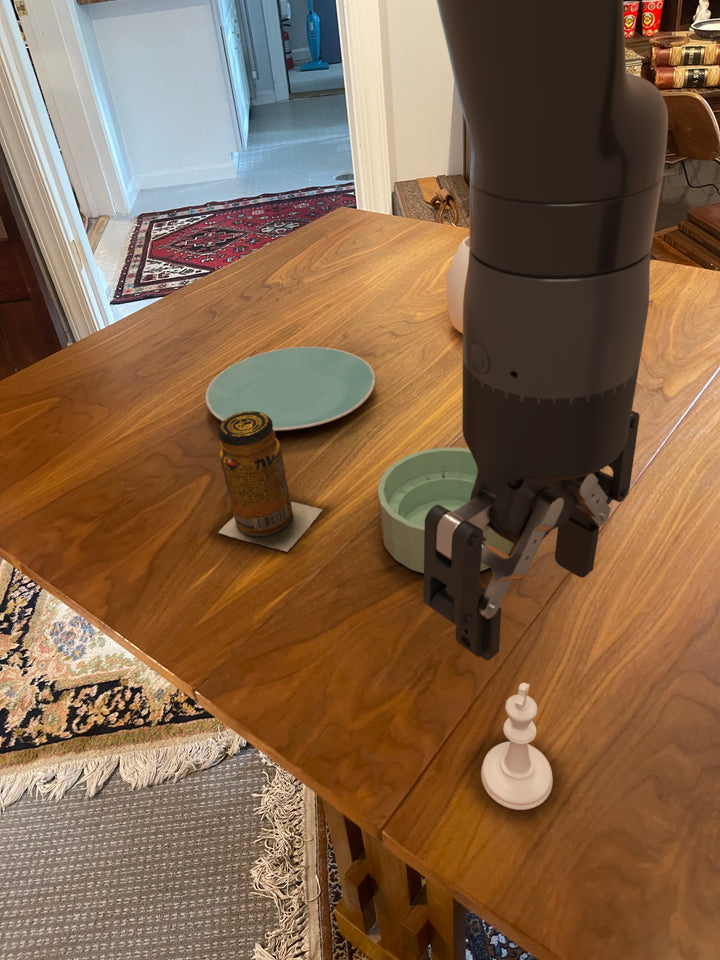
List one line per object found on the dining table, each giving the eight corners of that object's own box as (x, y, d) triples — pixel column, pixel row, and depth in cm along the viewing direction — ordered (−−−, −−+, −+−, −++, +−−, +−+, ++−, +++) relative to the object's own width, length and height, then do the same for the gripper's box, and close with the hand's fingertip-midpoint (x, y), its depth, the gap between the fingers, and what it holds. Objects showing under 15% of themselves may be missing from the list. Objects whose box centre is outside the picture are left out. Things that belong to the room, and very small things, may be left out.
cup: (537, 311, 112) (542, 223, 104) (538, 351, 102) (544, 256, 94) (450, 312, 115) (449, 226, 107) (443, 351, 104) (441, 259, 96)
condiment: (256, 493, 81) (235, 400, 74) (322, 510, 78) (308, 414, 71) (218, 534, 76) (192, 438, 69) (287, 554, 73) (267, 455, 66)
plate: (273, 351, 109) (270, 334, 107) (406, 378, 99) (405, 359, 98) (174, 426, 94) (168, 407, 93) (318, 466, 84) (315, 445, 83)
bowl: (533, 511, 75) (537, 463, 71) (489, 597, 66) (490, 547, 62) (415, 482, 80) (413, 436, 77) (359, 559, 71) (353, 511, 68)
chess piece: (471, 794, 51) (472, 705, 45) (493, 736, 54) (496, 647, 48) (542, 821, 49) (552, 732, 43) (560, 759, 52) (571, 669, 47)
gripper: (514, 451, 26) (499, 724, 36) (714, 315, 33) (656, 574, 43) (371, 383, 31) (392, 641, 40) (573, 277, 38) (550, 518, 48)
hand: (528, 606), depth 42 cm, fingers open, 8 cm apart
